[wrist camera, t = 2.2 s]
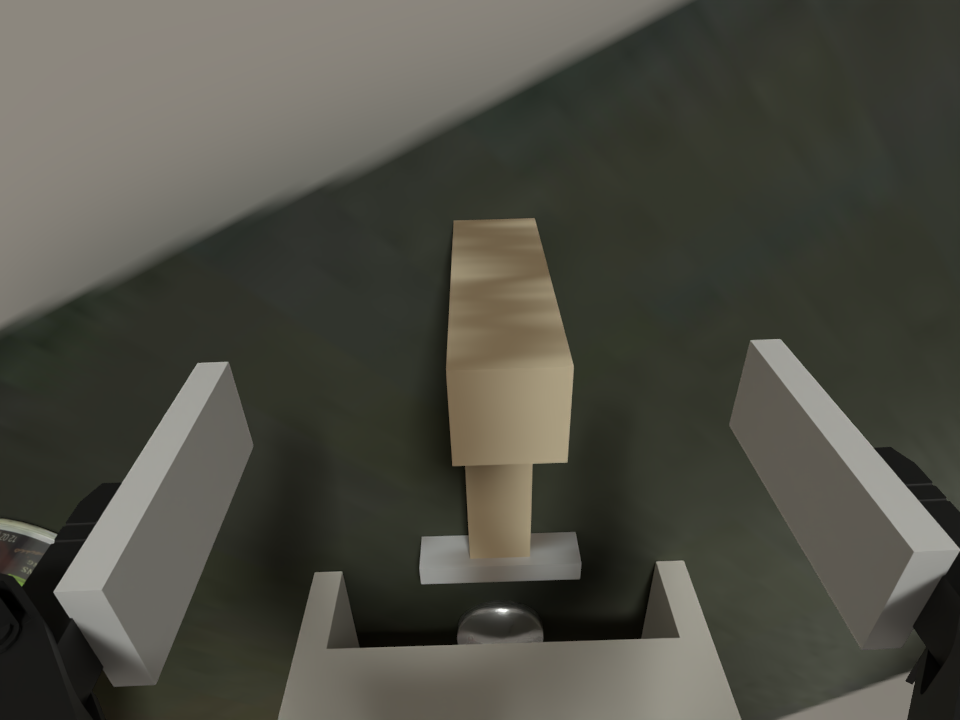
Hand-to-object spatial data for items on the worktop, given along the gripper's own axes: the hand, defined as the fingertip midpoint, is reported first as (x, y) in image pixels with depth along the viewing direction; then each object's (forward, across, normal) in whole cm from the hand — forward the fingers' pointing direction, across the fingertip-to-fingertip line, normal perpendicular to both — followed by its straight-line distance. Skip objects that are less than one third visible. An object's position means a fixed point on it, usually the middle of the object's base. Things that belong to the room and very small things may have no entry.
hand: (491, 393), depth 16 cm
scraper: (+9, -1, +8) cm, 12 cm away
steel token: (+9, -1, +24) cm, 25 cm away
